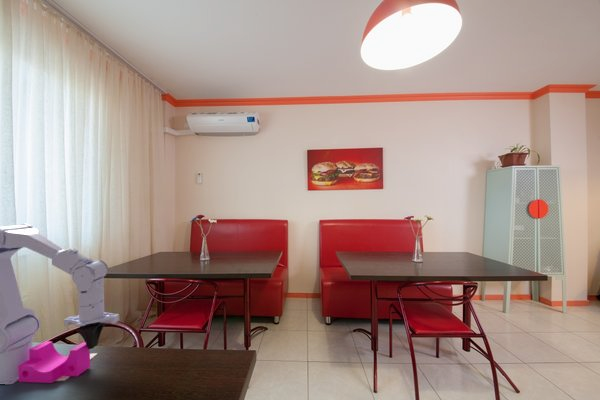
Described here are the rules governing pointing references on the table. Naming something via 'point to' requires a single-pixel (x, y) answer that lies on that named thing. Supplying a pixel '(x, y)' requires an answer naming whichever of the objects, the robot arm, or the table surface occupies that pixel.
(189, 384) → the table surface
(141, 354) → the table surface
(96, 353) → the pale mat
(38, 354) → the toy block
